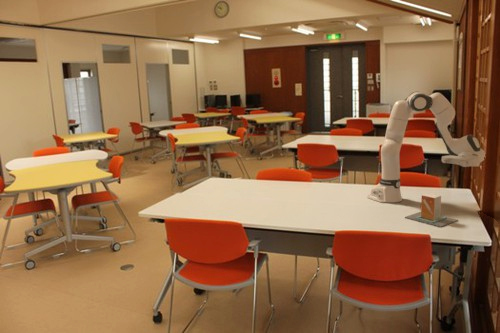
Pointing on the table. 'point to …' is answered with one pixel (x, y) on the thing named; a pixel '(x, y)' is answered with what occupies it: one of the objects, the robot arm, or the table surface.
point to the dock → (439, 222)
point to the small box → (431, 206)
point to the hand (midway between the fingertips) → (451, 162)
